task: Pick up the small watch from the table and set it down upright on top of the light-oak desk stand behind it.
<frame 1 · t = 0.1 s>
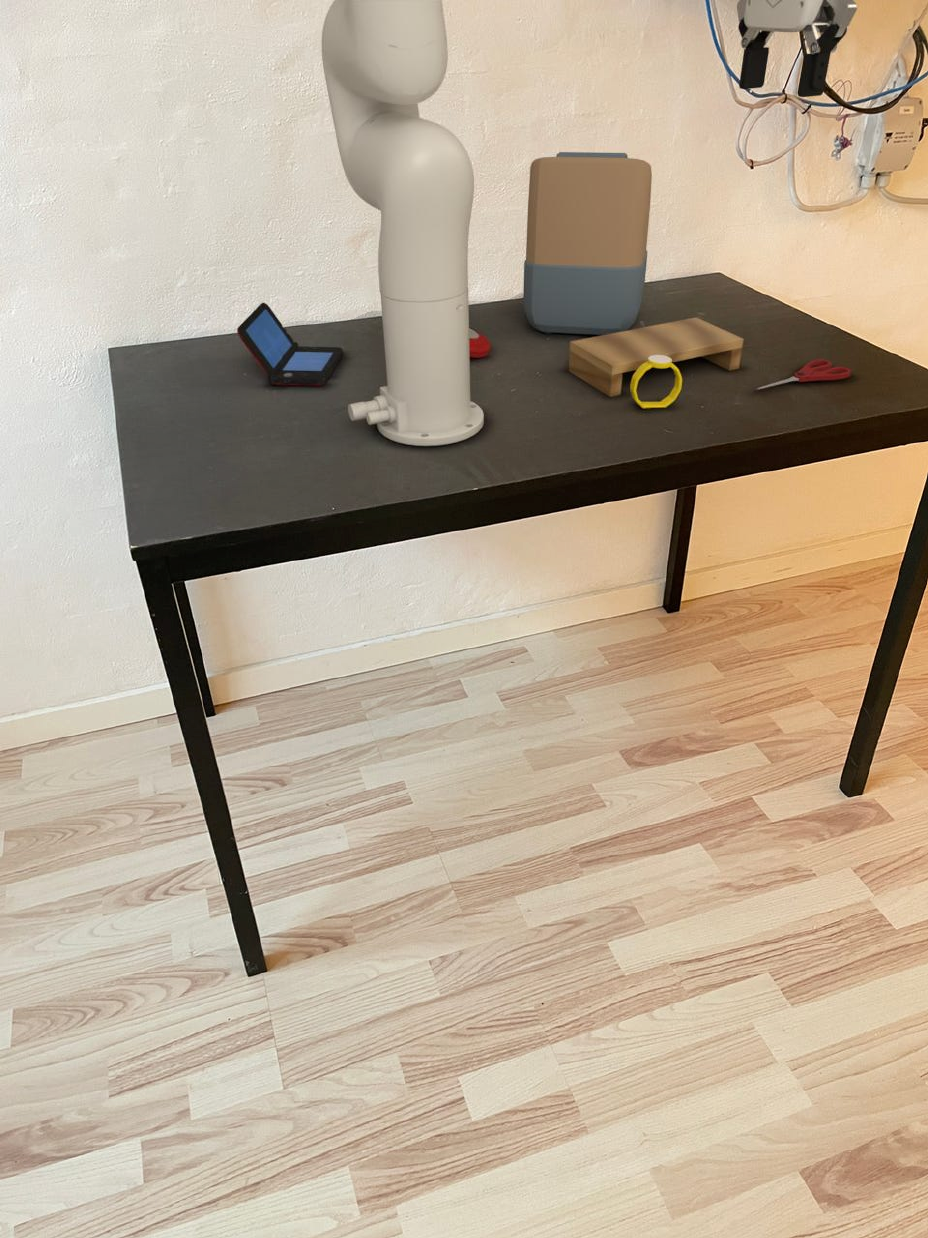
hand: (779, 91, 102), 31 cm above the table, tool pointing down, fingers open, 9 cm apart
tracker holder: (459, 349, 126), on the table
desk stand: (653, 369, 118), on the table
watch: (653, 408, 108), on the table
brown blue rounded box: (582, 323, 134), on the table
handheld game console: (296, 371, 121), on the table
scissors: (797, 382, 113), on the table
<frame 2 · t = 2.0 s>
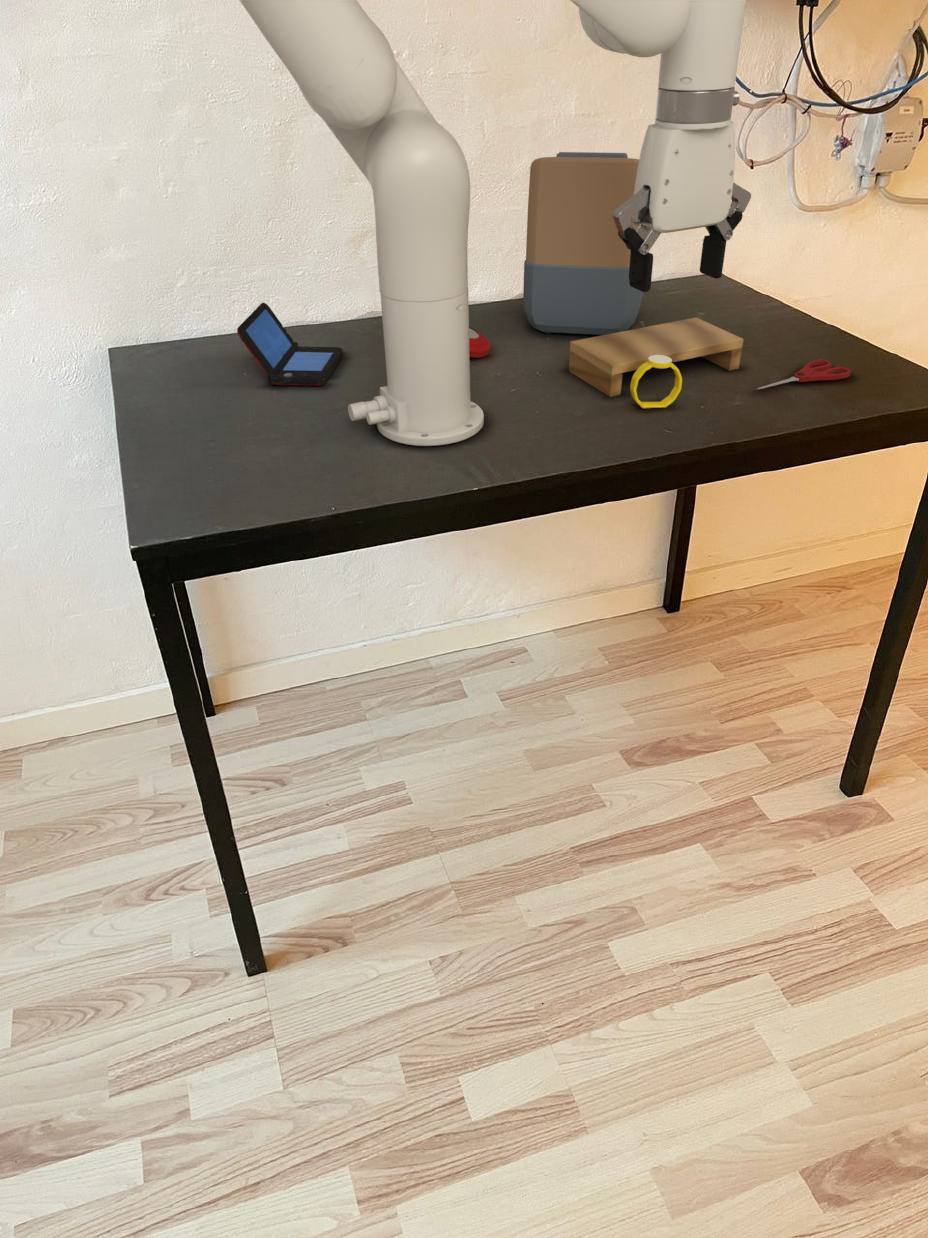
hand: (675, 281, 100), 14 cm above the table, tool pointing down, fingers open, 9 cm apart
nothing on the table moved.
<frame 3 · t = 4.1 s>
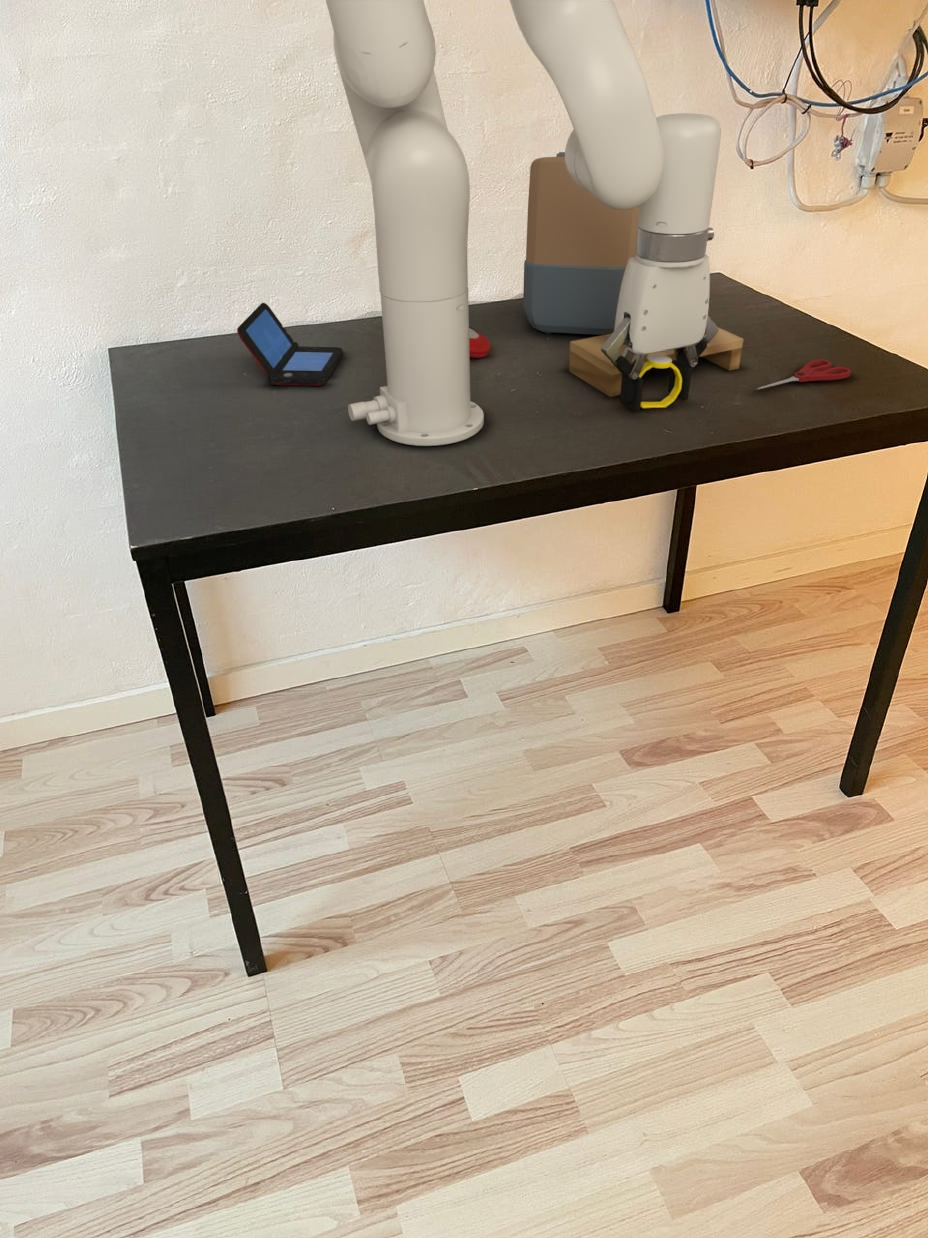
hand: (654, 400, 107), 1 cm above the table, tool pointing down, fingers closed on watch, 6 cm apart
watch: (653, 408, 108), on the table, touching gripper
everything else where it was.
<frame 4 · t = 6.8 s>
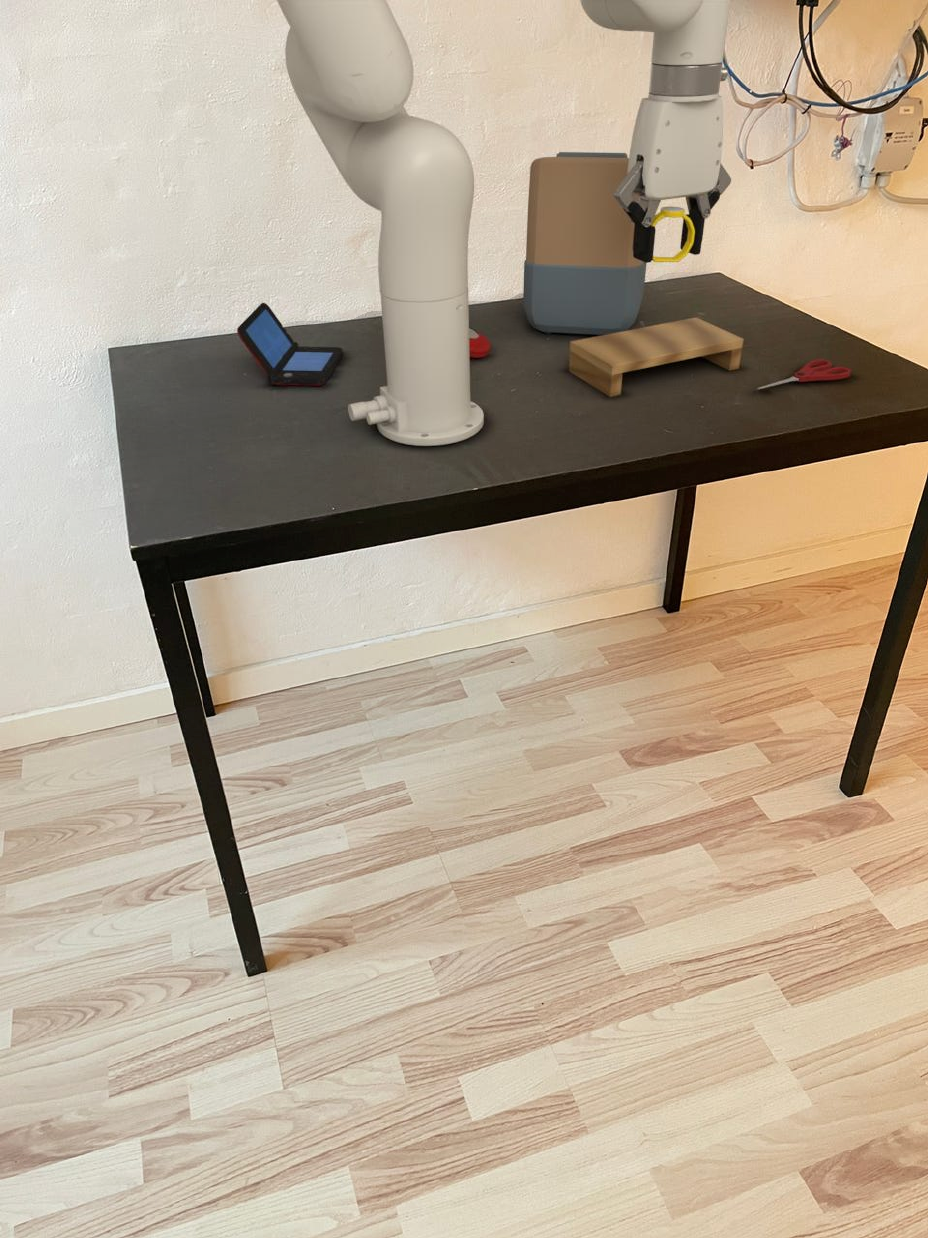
hand: (666, 254, 107), 15 cm above the table, tool pointing down, fingers closed on watch, 6 cm apart
watch: (665, 263, 108), point 14 cm above the table, touching gripper
everything else where it was.
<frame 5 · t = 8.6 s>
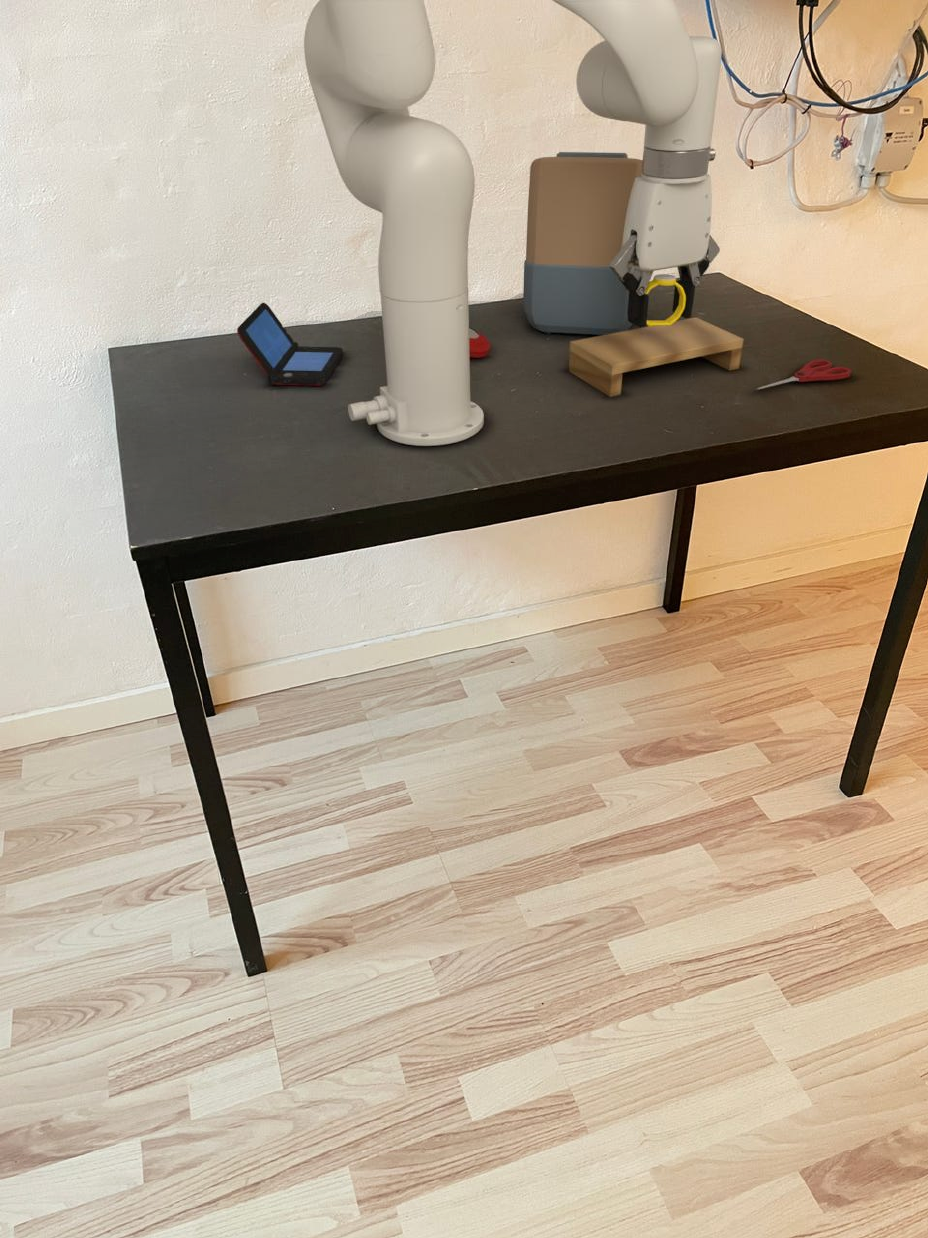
hand: (659, 318, 114), 7 cm above the table, tool pointing down, fingers closed on watch, 6 cm apart
watch: (658, 326, 114), point 6 cm above the table, touching gripper
everything else where it was.
when the fingers open (5 cm above the table, at t = 9.7 s): watch stays where it is, resting on desk stand.
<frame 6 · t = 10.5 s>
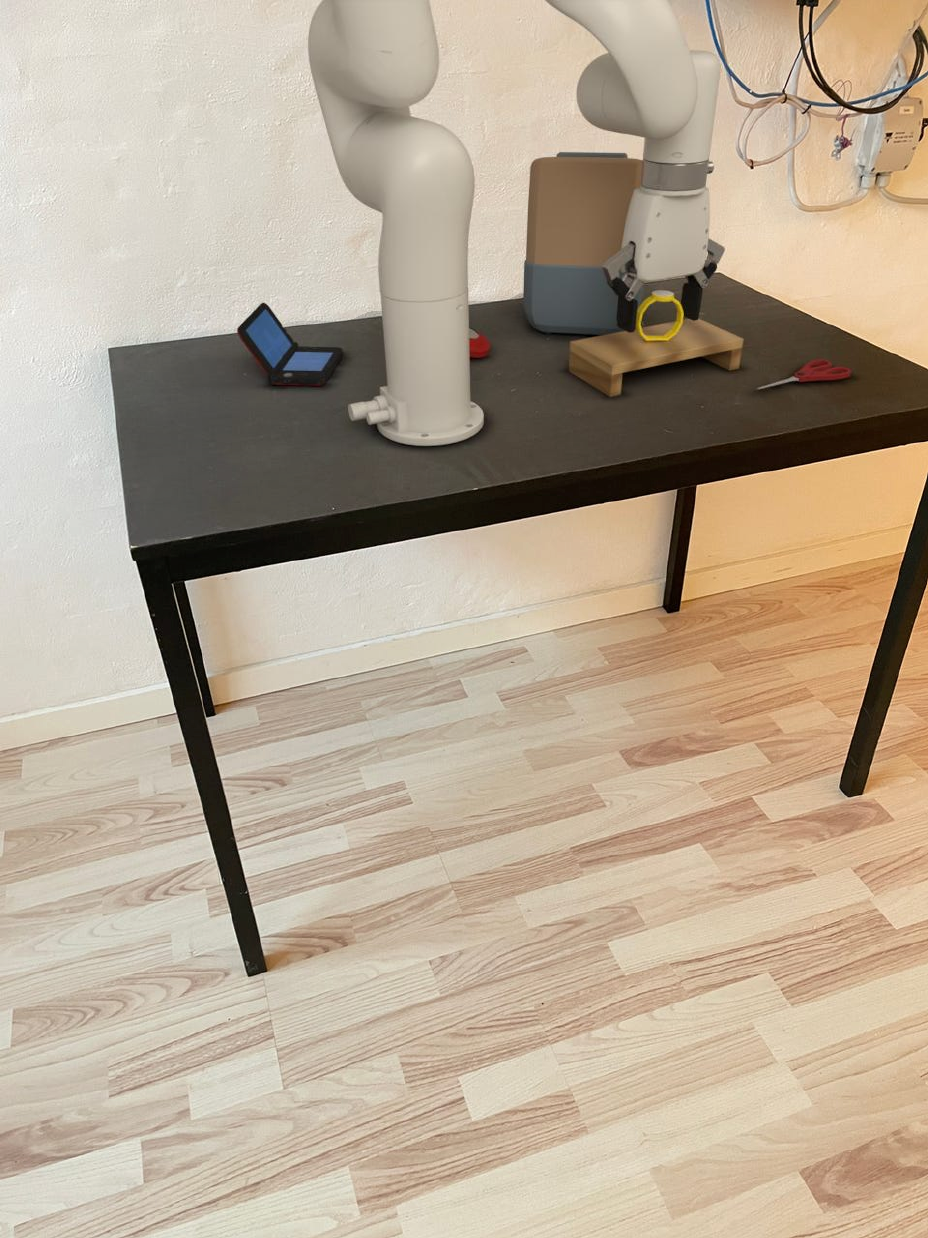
hand: (657, 323, 114), 6 cm above the table, tool pointing down, fingers open, 9 cm apart
watch: (656, 341, 115), point 4 cm above the table, touching desk stand
everything else where it was.
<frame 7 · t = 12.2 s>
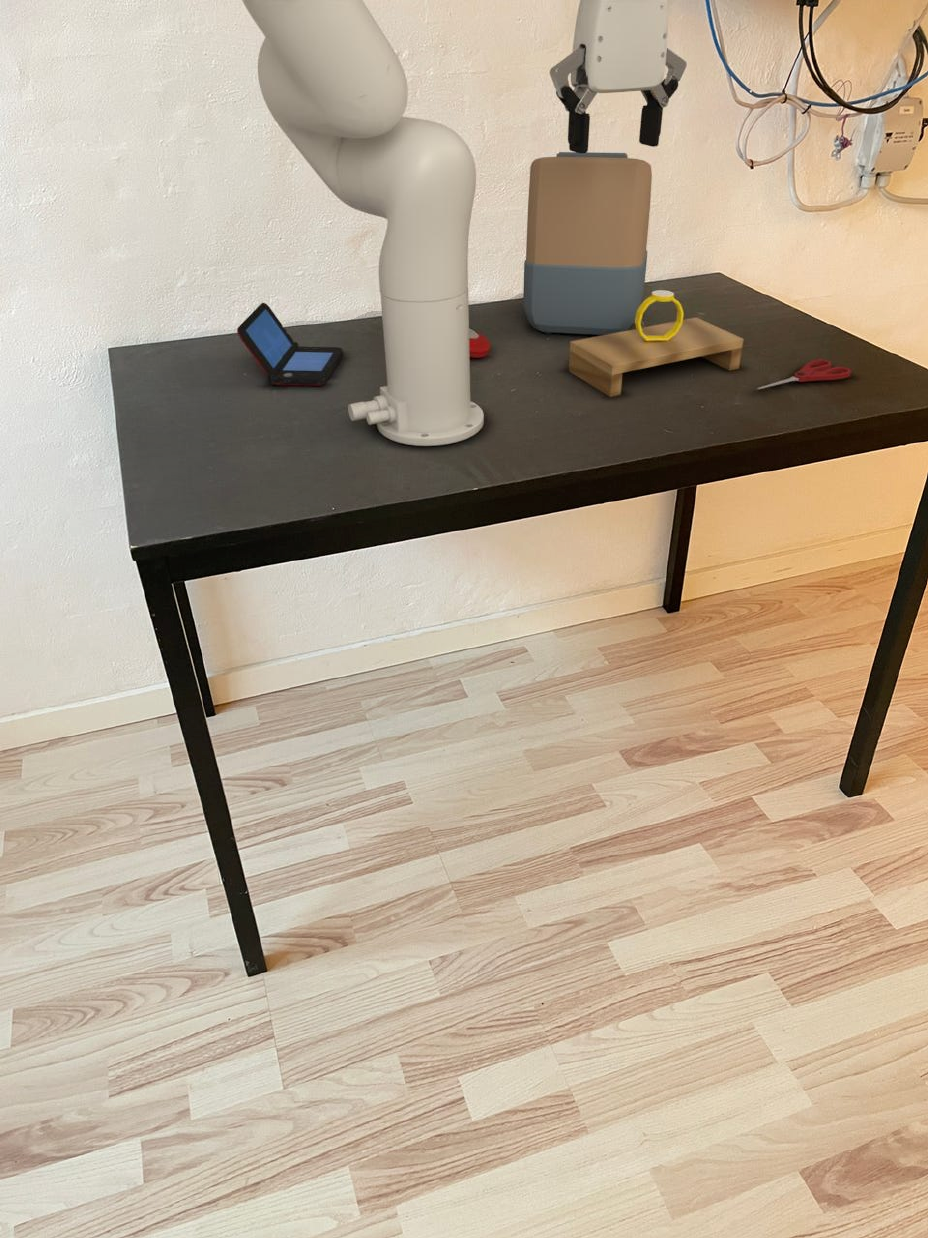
hand: (613, 148, 105), 26 cm above the table, tool pointing down, fingers open, 9 cm apart
nothing on the table moved.
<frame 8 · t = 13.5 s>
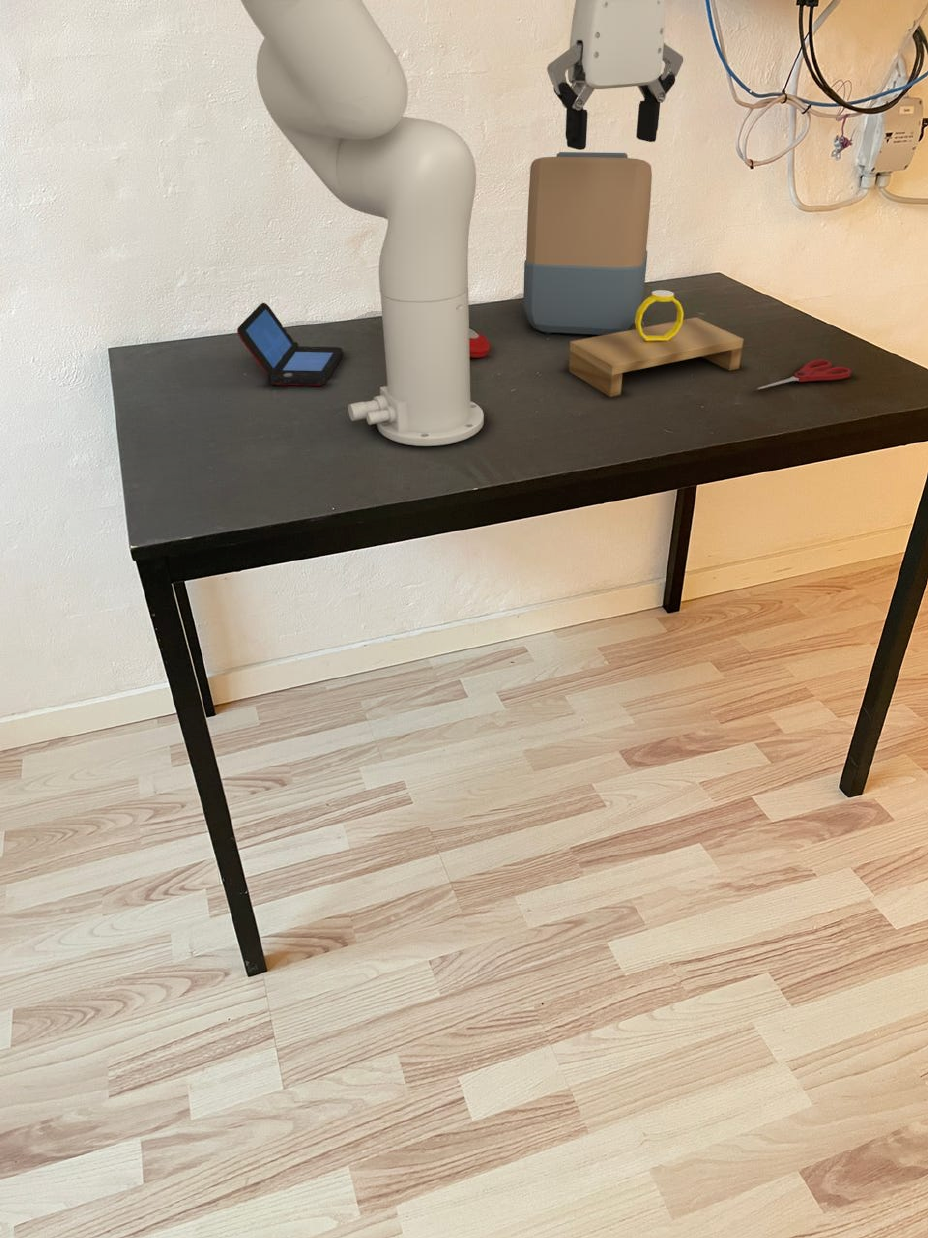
hand: (611, 143, 105), 26 cm above the table, tool pointing down, fingers open, 9 cm apart
nothing on the table moved.
at the end: watch inside the target area on the desk stand (0.0 cm from its centre), point 3.8 cm above the desk stand's base; watch tilted 0°; the gripper is holding nothing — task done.
